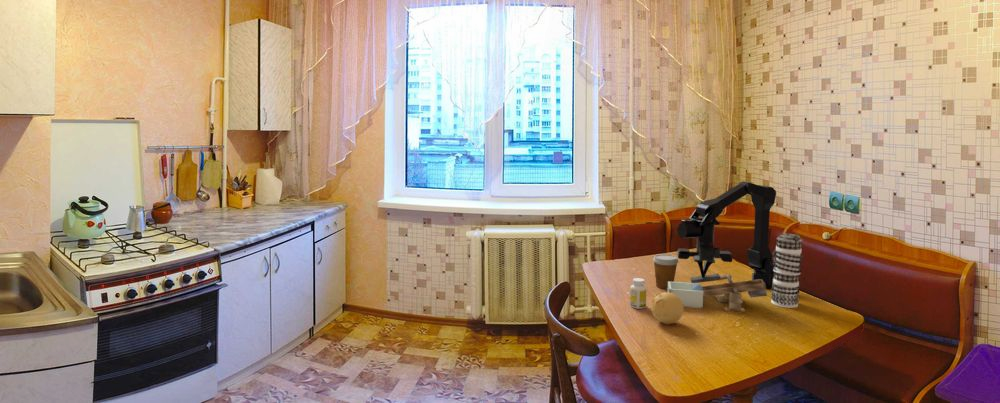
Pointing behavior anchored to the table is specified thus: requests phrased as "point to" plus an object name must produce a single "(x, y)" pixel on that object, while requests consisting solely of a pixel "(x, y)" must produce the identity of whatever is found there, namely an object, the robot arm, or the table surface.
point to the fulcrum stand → (732, 301)
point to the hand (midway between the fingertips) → (702, 277)
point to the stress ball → (667, 308)
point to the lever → (731, 286)
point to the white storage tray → (686, 294)
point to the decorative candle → (787, 270)
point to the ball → (697, 287)
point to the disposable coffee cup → (664, 269)
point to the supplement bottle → (638, 294)
